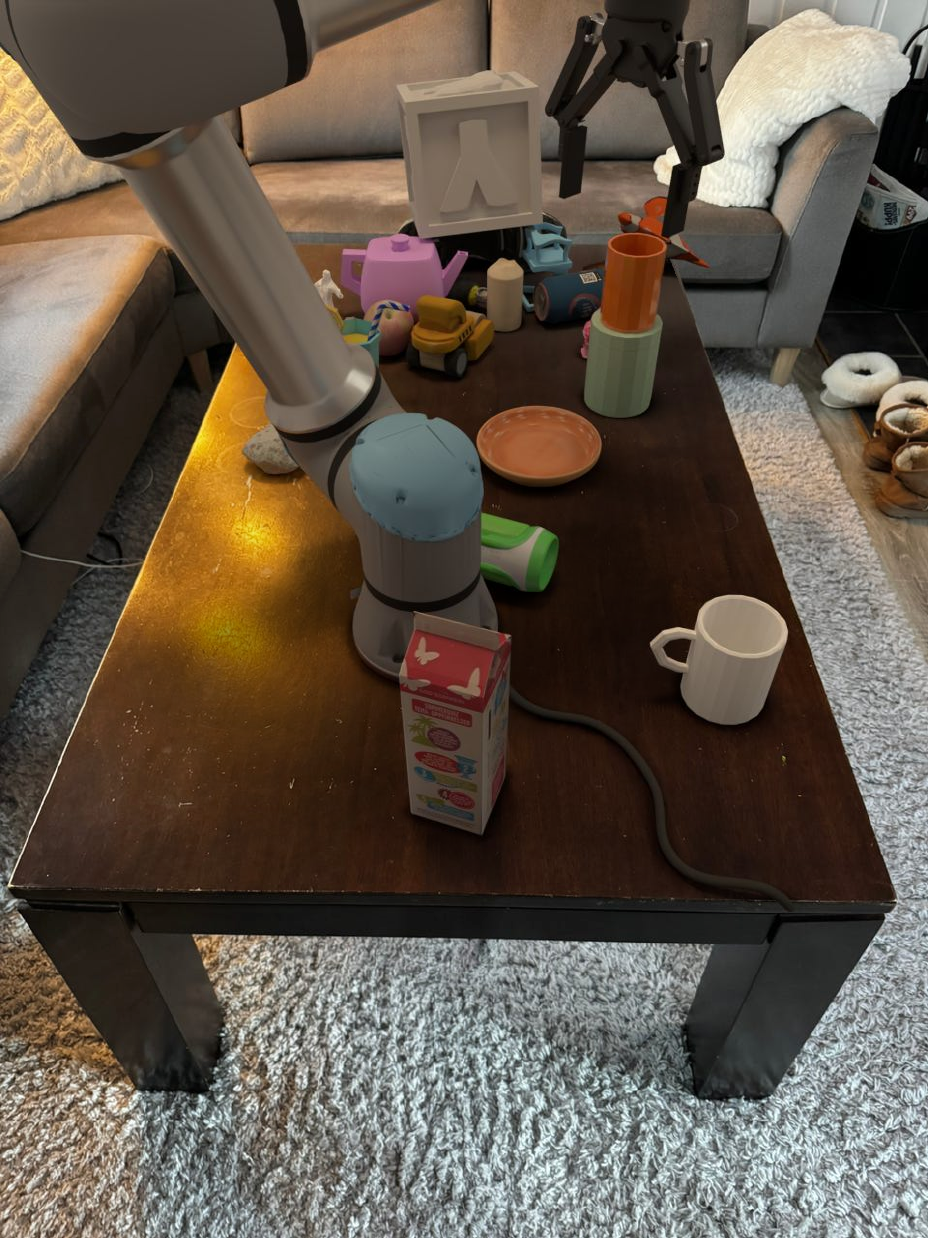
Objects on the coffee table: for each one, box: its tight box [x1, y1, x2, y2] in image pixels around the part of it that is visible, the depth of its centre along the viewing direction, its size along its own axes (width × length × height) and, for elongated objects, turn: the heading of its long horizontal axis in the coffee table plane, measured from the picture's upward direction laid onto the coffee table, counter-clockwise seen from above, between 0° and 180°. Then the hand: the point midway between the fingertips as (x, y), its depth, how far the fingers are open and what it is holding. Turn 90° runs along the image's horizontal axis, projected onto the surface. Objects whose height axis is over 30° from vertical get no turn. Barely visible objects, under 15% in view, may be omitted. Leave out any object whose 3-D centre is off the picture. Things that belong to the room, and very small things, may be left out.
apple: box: [363, 300, 415, 357], centre depth 135 cm, size 8×8×8 cm
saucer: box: [476, 405, 603, 488], centre depth 116 cm, size 16×16×3 cm
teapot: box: [339, 233, 468, 326], centre depth 141 cm, size 20×12×13 cm, turn 90°
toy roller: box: [405, 295, 495, 378], centre depth 132 cm, size 9×14×10 cm, turn 153°
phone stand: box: [522, 222, 574, 313], centre depth 145 cm, size 8×8×12 cm
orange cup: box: [600, 233, 667, 333], centre depth 115 cm, size 7×7×10 cm
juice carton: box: [398, 611, 513, 836], centre depth 73 cm, size 7×7×22 cm
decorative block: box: [395, 70, 544, 239], centre depth 140 cm, size 19×19×20 cm
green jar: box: [583, 309, 664, 419], centre depth 123 cm, size 9×9×12 cm
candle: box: [486, 258, 524, 333], centre depth 140 cm, size 6×6×10 cm
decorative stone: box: [241, 421, 300, 475], centre depth 117 cm, size 12×11×5 cm
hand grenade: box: [445, 276, 487, 310], centre depth 146 cm, size 4×4×10 cm
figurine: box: [314, 269, 344, 308], centre depth 131 cm, size 7×7×12 cm
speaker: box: [481, 512, 560, 593], centre depth 100 cm, size 18×7×8 cm
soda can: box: [532, 269, 605, 324], centre depth 142 cm, size 7×7×12 cm
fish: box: [617, 195, 711, 269], centre depth 156 cm, size 20×12×15 cm
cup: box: [325, 301, 410, 370], centre depth 122 cm, size 14×8×15 cm, turn 86°
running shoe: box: [397, 211, 568, 274], centre depth 156 cm, size 11×29×12 cm
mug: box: [649, 594, 789, 726], centre depth 86 cm, size 8×12×10 cm, turn 88°
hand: (619, 213), depth 93 cm, fingers open, 13 cm apart
